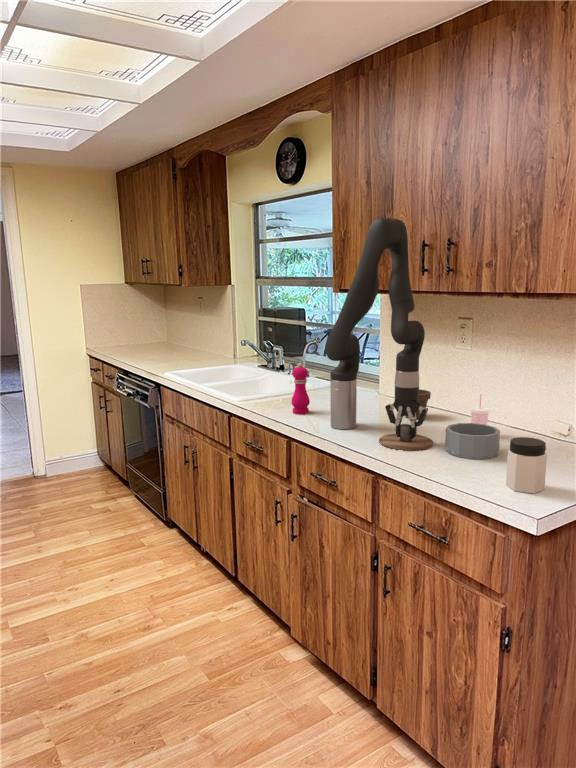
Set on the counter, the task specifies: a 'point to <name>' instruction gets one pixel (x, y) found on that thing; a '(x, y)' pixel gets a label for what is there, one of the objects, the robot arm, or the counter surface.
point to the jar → (526, 465)
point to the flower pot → (422, 400)
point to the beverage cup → (479, 414)
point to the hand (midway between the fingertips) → (405, 437)
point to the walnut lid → (406, 440)
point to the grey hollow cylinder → (472, 440)
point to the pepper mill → (300, 391)
